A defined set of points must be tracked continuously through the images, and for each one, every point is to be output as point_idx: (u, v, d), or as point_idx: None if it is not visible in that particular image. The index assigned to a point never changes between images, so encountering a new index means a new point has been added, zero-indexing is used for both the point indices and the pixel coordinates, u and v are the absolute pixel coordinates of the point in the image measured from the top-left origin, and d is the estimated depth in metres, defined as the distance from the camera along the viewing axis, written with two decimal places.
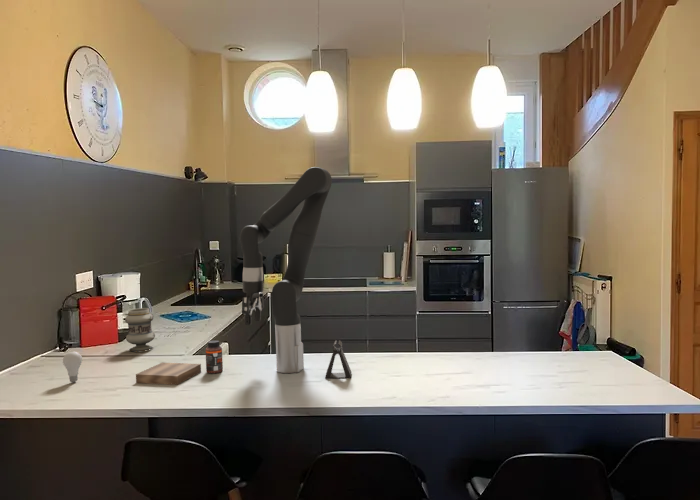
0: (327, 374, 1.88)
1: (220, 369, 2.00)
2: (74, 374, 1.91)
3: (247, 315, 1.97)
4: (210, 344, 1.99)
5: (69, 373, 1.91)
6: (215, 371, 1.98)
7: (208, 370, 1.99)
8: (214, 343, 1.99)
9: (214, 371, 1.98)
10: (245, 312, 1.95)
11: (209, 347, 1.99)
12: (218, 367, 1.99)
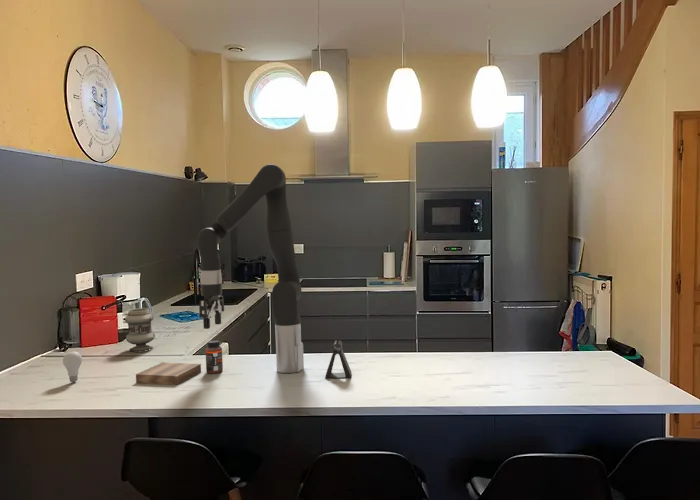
0: (327, 374, 1.88)
1: (220, 369, 2.00)
2: (74, 374, 1.91)
3: (205, 318, 1.95)
4: (210, 344, 1.99)
5: (69, 373, 1.91)
6: (215, 371, 1.98)
7: (208, 370, 1.99)
8: (214, 343, 1.99)
9: (214, 371, 1.98)
10: (202, 315, 1.93)
11: (209, 347, 1.99)
12: (218, 367, 1.99)
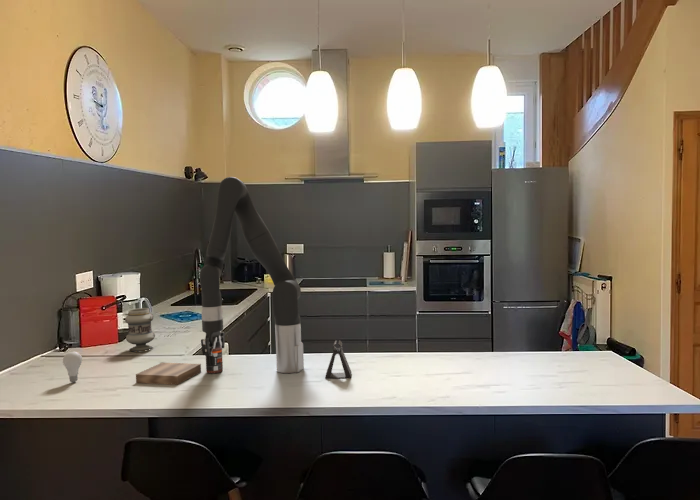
0: (327, 374, 1.88)
1: (220, 369, 2.00)
2: (74, 374, 1.91)
3: (208, 356, 1.97)
4: None
5: (69, 373, 1.91)
6: (215, 371, 1.98)
7: (208, 370, 1.99)
8: None
9: (214, 371, 1.98)
10: (206, 353, 1.95)
11: None
12: (218, 367, 1.99)
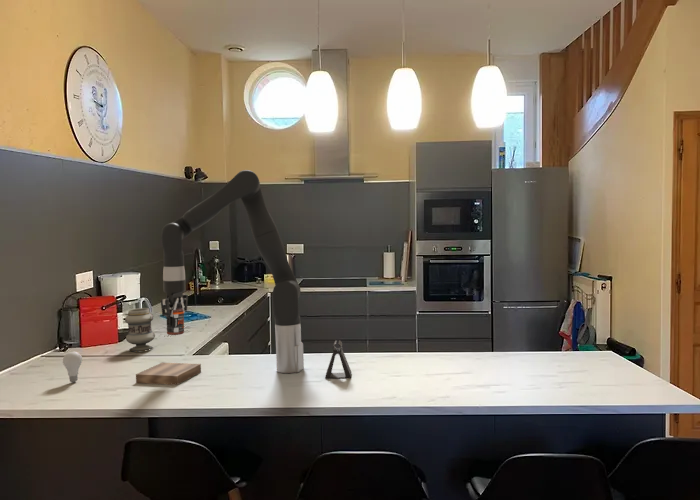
0: (327, 374, 1.88)
1: (181, 331, 1.95)
2: (74, 374, 1.91)
3: (168, 317, 1.92)
4: None
5: (69, 373, 1.91)
6: (175, 333, 1.93)
7: (168, 332, 1.94)
8: None
9: (174, 333, 1.93)
10: (165, 314, 1.90)
11: None
12: (179, 329, 1.94)
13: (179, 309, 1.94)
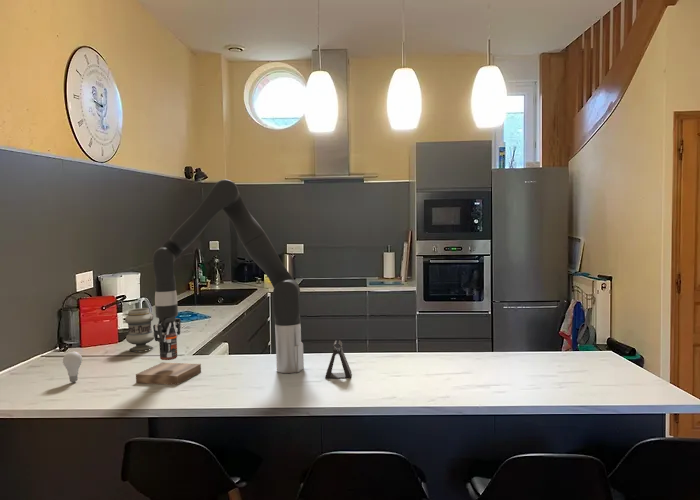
0: (327, 374, 1.88)
1: (174, 356, 1.94)
2: (74, 374, 1.91)
3: (161, 342, 1.91)
4: None
5: (69, 373, 1.91)
6: (169, 358, 1.92)
7: (161, 357, 1.93)
8: None
9: (167, 358, 1.92)
10: (158, 339, 1.89)
11: None
12: (172, 354, 1.93)
13: (172, 334, 1.93)
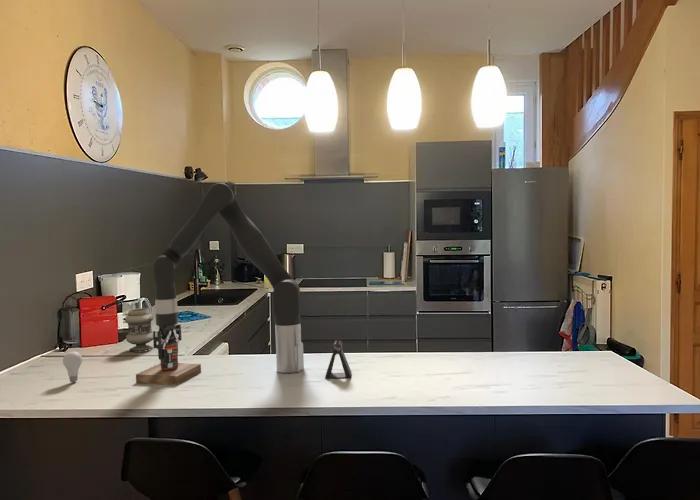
0: (327, 374, 1.88)
1: (175, 366, 1.94)
2: (74, 374, 1.91)
3: (160, 349, 1.90)
4: None
5: (69, 373, 1.91)
6: (169, 368, 1.93)
7: (162, 367, 1.93)
8: (169, 339, 1.93)
9: (168, 368, 1.93)
10: (157, 346, 1.88)
11: None
12: (173, 364, 1.93)
13: (173, 344, 1.94)
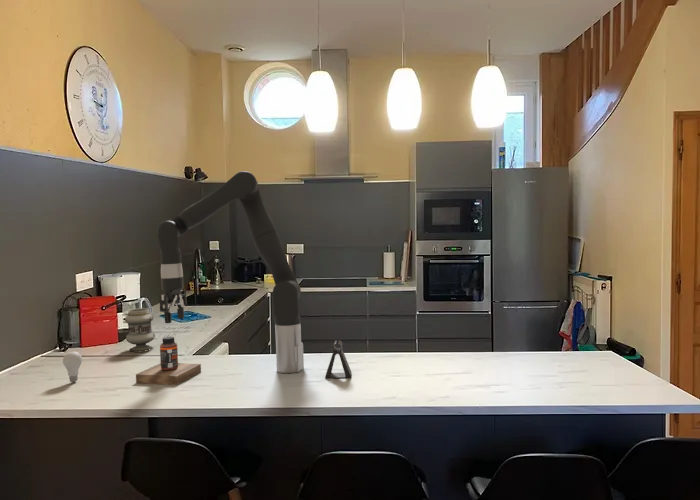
0: (327, 374, 1.88)
1: (175, 366, 1.94)
2: (74, 374, 1.91)
3: (166, 313, 1.92)
4: (165, 340, 1.93)
5: (69, 373, 1.91)
6: (169, 368, 1.93)
7: (162, 367, 1.93)
8: (168, 339, 1.93)
9: (168, 368, 1.93)
10: (163, 310, 1.90)
11: (163, 343, 1.93)
12: (173, 364, 1.93)
13: (173, 344, 1.94)
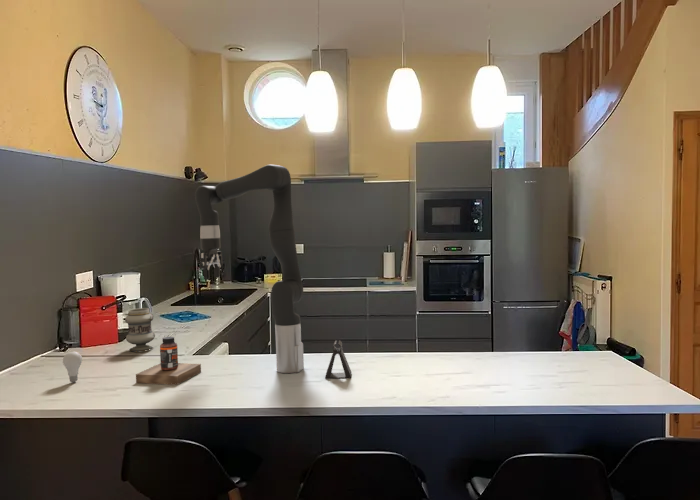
0: (327, 374, 1.88)
1: (175, 366, 1.94)
2: (74, 374, 1.91)
3: (205, 270, 2.09)
4: (165, 340, 1.93)
5: (69, 373, 1.91)
6: (169, 368, 1.93)
7: (162, 367, 1.93)
8: (168, 339, 1.93)
9: (168, 368, 1.93)
10: (202, 267, 2.08)
11: (163, 343, 1.93)
12: (173, 364, 1.93)
13: (173, 344, 1.94)
